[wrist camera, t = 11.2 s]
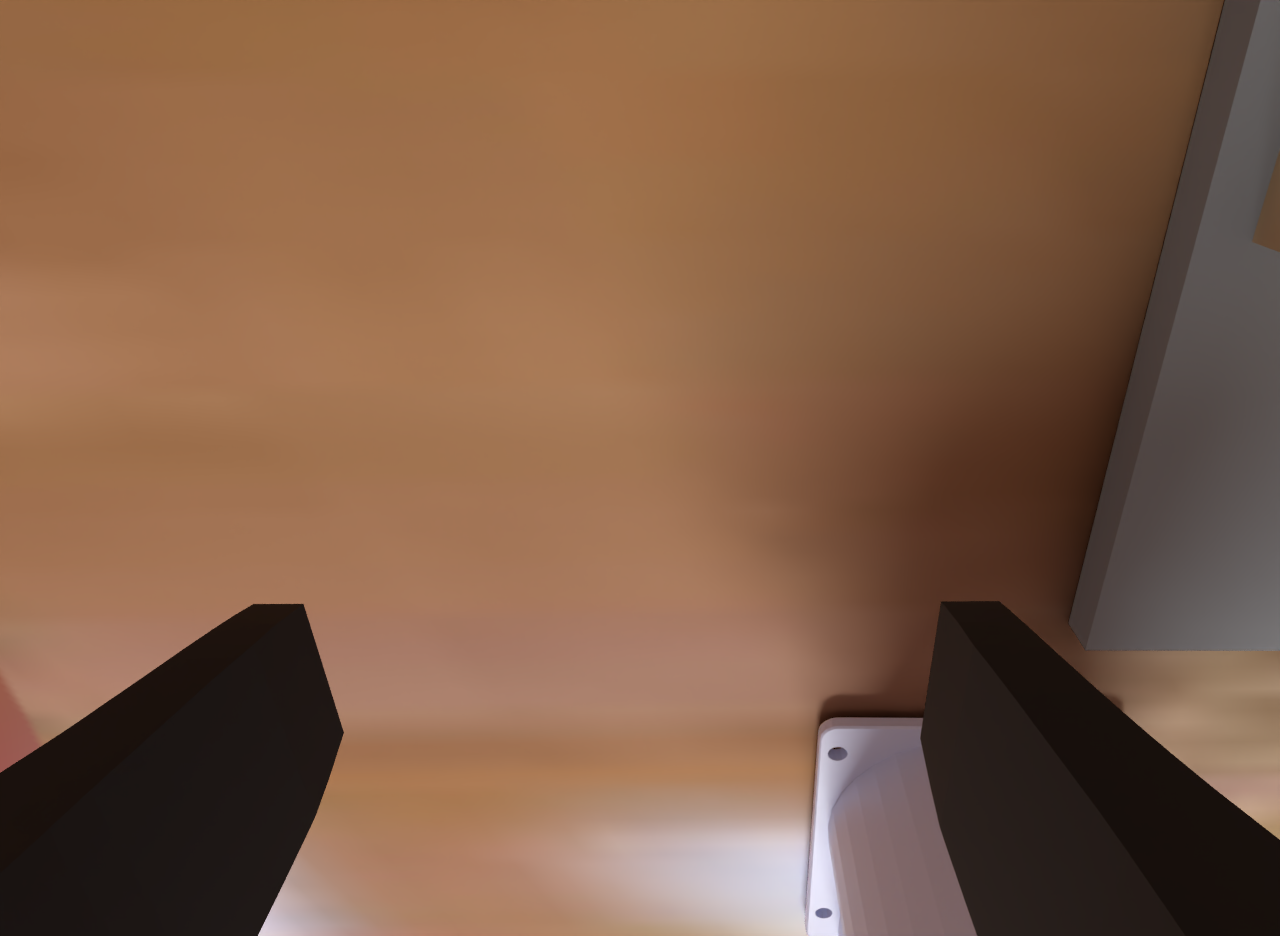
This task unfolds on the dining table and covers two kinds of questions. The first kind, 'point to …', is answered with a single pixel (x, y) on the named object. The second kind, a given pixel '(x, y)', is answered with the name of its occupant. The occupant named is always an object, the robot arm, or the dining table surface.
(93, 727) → the robot arm
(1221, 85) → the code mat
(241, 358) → the dining table surface
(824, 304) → the dining table surface
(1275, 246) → the maple block
